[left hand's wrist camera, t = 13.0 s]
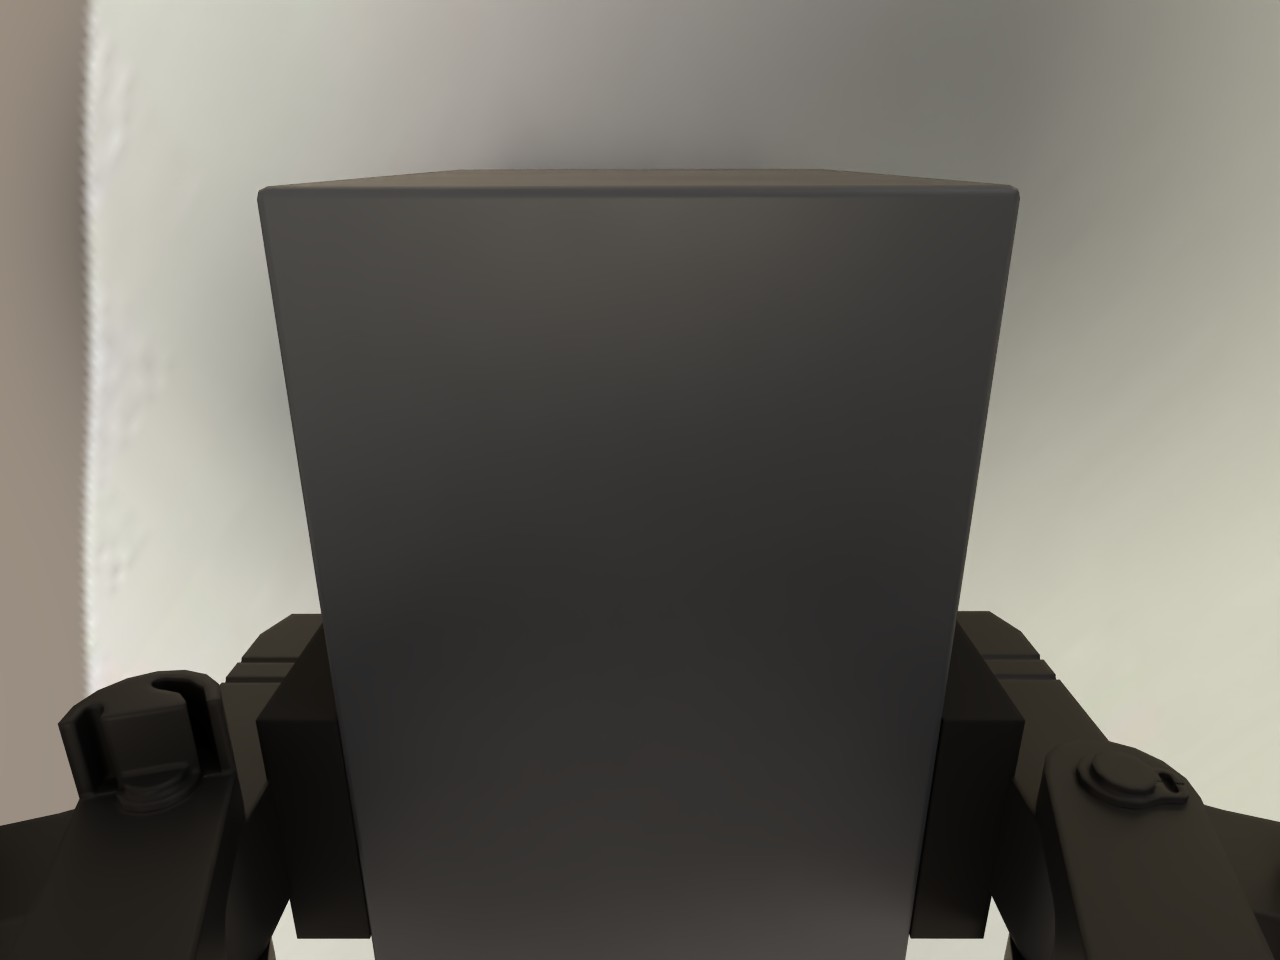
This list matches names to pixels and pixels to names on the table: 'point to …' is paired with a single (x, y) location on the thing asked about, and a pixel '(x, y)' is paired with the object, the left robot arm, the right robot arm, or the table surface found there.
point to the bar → (639, 542)
